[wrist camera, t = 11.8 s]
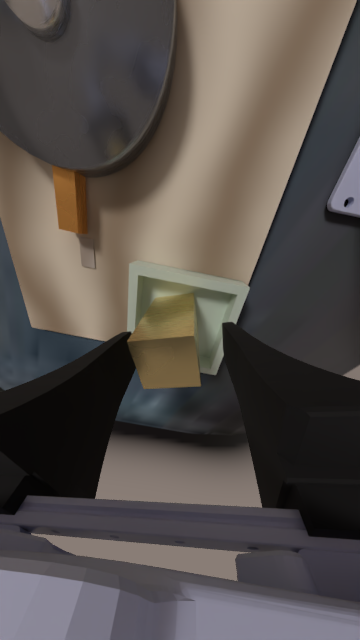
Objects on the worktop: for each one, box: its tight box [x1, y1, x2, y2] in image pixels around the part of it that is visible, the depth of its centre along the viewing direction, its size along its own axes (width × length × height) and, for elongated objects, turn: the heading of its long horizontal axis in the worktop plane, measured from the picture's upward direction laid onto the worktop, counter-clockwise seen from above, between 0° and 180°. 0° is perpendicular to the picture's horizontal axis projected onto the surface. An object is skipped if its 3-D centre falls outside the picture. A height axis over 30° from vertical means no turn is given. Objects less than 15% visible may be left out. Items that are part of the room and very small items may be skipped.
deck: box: [0, 0, 357, 341], centre depth 11 cm, size 18×22×1 cm
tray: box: [127, 260, 250, 375], centre depth 13 cm, size 8×8×2 cm
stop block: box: [127, 293, 201, 389], centre depth 10 cm, size 3×3×6 cm
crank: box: [0, 0, 177, 234], centre depth 6 cm, size 13×12×4 cm
